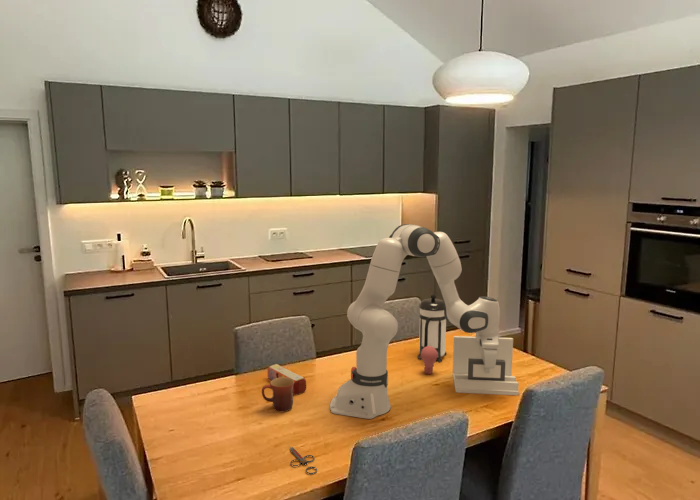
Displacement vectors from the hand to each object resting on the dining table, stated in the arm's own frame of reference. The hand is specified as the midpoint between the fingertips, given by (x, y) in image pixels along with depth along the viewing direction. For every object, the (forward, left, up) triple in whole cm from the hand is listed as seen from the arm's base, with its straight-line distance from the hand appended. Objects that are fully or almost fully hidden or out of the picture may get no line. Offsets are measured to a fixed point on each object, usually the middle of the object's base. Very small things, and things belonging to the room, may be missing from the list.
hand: (486, 370), depth 203 cm
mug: (-78, -26, -8) cm, 82 cm away
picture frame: (0, 0, -4) cm, 4 cm away
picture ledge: (0, +3, -8) cm, 9 cm away
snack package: (-80, -6, -8) cm, 81 cm away
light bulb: (-22, +13, -8) cm, 27 cm away
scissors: (-63, -57, -8) cm, 85 cm away
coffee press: (-20, +31, -8) cm, 38 cm away
